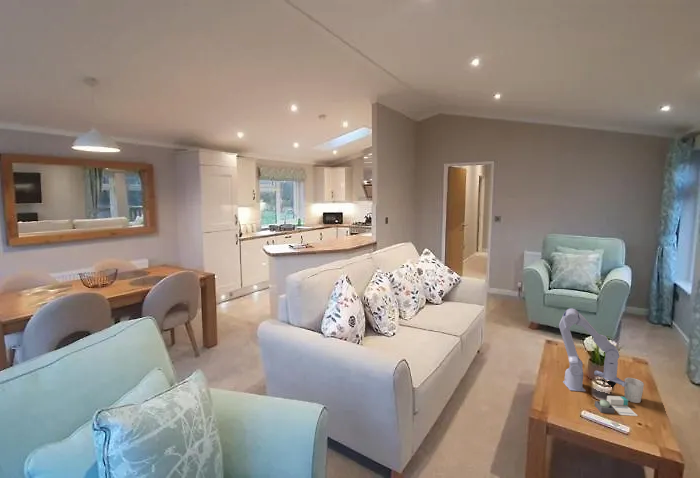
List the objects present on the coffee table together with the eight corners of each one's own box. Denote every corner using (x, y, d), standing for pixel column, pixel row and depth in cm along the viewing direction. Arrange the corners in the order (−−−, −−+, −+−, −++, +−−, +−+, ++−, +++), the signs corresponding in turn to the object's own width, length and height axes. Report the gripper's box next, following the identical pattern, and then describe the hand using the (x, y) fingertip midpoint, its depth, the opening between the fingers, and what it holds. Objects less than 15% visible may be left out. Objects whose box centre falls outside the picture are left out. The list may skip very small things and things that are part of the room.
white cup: (644, 405, 183) (646, 386, 182) (625, 401, 186) (626, 383, 185) (639, 397, 190) (641, 379, 189) (621, 393, 193) (622, 376, 192)
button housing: (594, 405, 183) (594, 400, 183) (607, 406, 183) (607, 401, 182) (601, 412, 178) (601, 407, 177) (614, 413, 177) (614, 408, 176)
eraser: (610, 405, 183) (610, 399, 183) (606, 401, 187) (607, 395, 186) (627, 406, 182) (628, 400, 182) (623, 402, 186) (624, 396, 185)
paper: (610, 405, 183) (610, 405, 183) (627, 406, 182) (627, 406, 182) (620, 415, 175) (620, 414, 175) (637, 416, 174) (638, 415, 174)
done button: (597, 404, 182) (598, 399, 182) (606, 405, 182) (606, 399, 181) (602, 409, 178) (602, 404, 178) (611, 410, 178) (611, 404, 177)
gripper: (591, 364, 195) (589, 388, 197) (621, 376, 182) (619, 401, 184) (599, 361, 198) (597, 385, 200) (629, 373, 185) (627, 397, 187)
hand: (608, 392), depth 192 cm, fingers closed
